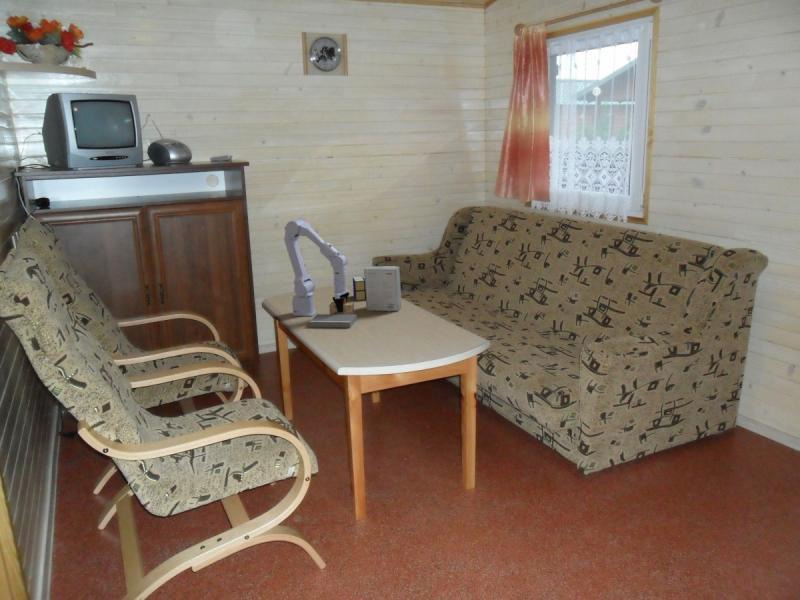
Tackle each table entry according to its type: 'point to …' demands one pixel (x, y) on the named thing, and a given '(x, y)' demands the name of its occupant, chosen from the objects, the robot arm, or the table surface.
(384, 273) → the hard drive box
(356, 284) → the puzzle cube
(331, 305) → the tan rectangular block
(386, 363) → the table surface
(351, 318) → the loading dock
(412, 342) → the table surface
